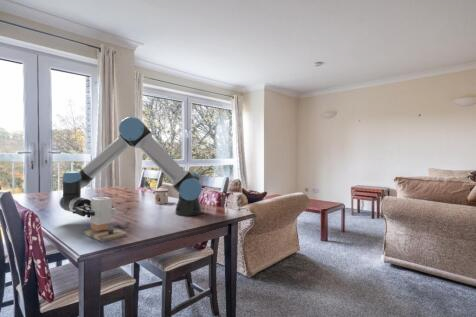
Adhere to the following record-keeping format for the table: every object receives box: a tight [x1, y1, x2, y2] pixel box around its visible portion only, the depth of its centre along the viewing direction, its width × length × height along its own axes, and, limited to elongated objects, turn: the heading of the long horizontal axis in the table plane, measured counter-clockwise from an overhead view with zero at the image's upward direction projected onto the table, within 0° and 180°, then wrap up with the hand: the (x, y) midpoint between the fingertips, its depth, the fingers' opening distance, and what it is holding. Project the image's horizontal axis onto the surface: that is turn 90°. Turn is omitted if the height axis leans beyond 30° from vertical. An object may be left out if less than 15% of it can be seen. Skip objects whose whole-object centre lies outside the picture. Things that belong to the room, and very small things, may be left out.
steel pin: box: [108, 222, 114, 234], centre depth 114 cm, size 2×2×4 cm
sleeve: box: [90, 196, 113, 231], centre depth 119 cm, size 6×6×13 cm
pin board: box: [83, 227, 127, 243], centre depth 117 cm, size 16×10×2 cm, turn 55°
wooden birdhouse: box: [154, 185, 169, 205], centre depth 188 cm, size 12×9×12 cm
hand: (107, 213), depth 116 cm, fingers closed on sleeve, 6 cm apart
